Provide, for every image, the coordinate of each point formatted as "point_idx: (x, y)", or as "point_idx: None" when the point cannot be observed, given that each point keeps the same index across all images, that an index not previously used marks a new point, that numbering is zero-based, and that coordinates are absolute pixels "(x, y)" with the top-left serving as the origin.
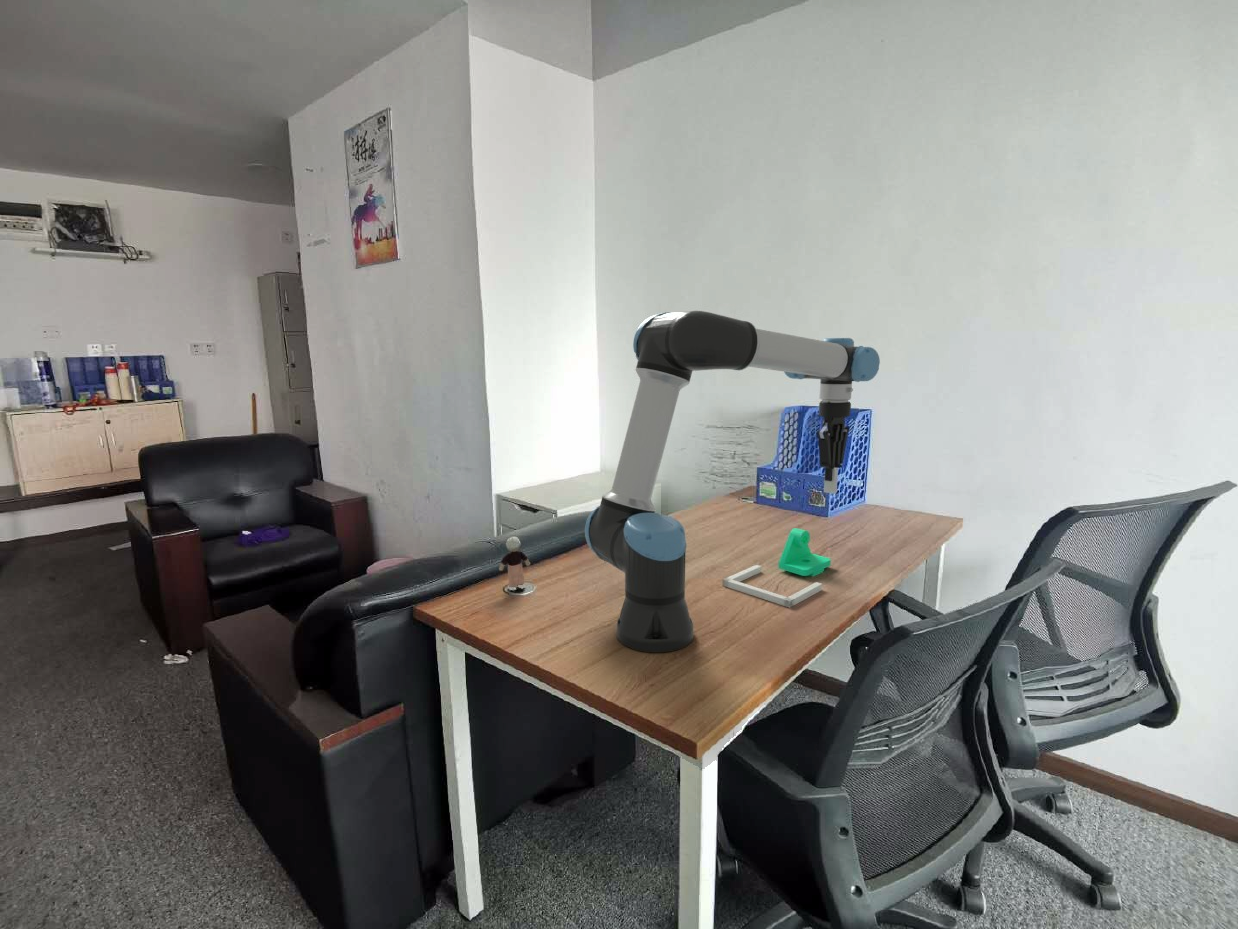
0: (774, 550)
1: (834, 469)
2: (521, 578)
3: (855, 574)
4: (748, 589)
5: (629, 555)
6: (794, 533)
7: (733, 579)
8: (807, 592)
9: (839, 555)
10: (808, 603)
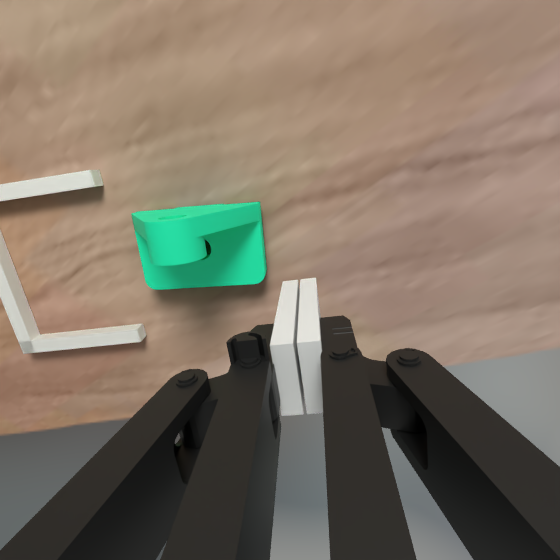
0: (258, 79)
1: (282, 409)
2: None
3: None
4: None
5: None
6: (147, 238)
7: None
8: (85, 346)
9: (369, 231)
10: (77, 355)
